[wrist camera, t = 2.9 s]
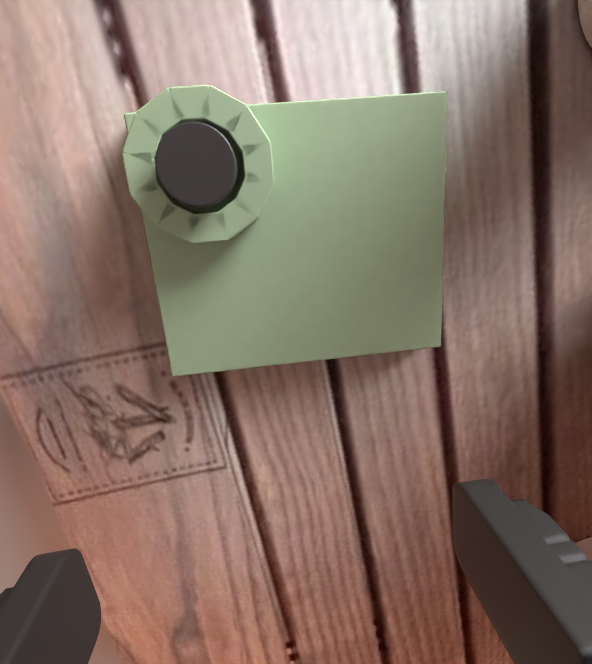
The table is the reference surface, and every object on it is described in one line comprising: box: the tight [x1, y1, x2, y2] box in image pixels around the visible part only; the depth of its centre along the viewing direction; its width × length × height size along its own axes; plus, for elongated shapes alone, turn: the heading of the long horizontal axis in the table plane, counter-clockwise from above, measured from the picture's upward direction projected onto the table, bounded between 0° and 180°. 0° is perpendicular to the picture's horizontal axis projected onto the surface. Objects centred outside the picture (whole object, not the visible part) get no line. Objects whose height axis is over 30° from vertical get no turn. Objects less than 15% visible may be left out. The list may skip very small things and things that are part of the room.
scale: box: [122, 85, 447, 377], centre depth 19 cm, size 14×12×3 cm
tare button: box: [155, 122, 238, 207], centre depth 16 cm, size 3×3×2 cm
